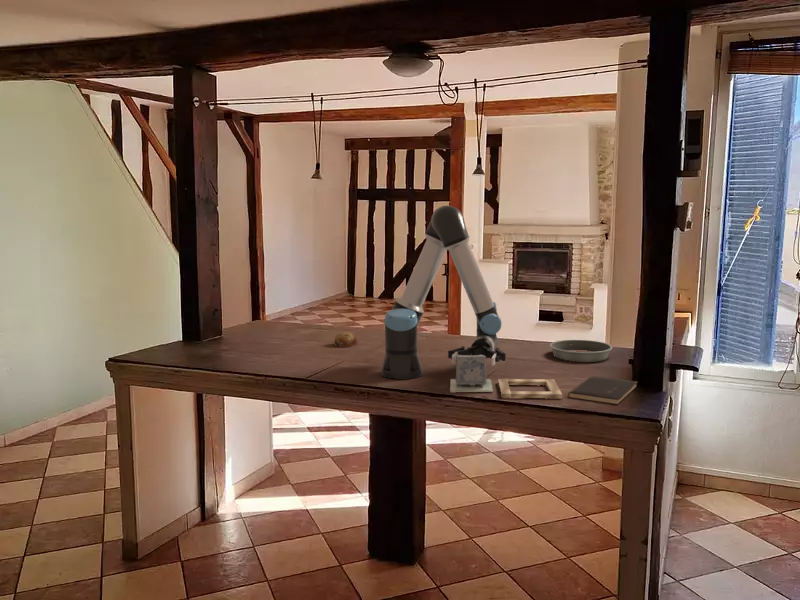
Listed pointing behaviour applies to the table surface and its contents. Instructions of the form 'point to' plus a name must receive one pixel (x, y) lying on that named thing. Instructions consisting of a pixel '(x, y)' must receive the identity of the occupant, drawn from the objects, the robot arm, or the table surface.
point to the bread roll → (345, 339)
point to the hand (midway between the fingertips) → (472, 360)
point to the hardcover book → (603, 389)
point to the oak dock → (550, 383)
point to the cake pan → (597, 349)
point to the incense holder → (470, 369)
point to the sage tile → (467, 388)
